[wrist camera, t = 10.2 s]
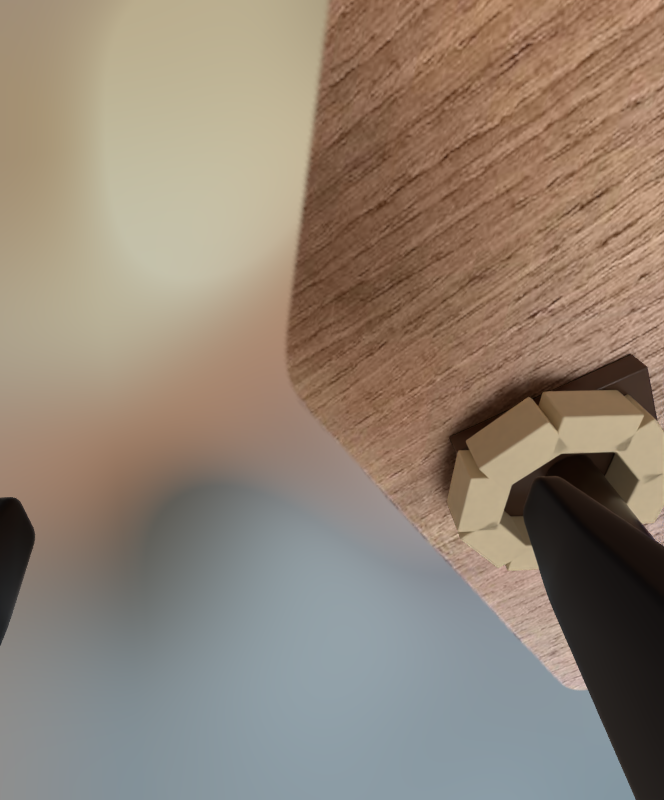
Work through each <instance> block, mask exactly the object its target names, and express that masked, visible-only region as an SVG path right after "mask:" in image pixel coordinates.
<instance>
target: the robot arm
mask: <svg viewBox="0 0 664 800" xmlns="http://www.w3.org/2000/svg"><path fill="white" fill-rule="evenodd" d="M523 519H524V523H525V526H526V529H527V532H528V535H529V539H530V542H531V545H532V548H533V551H534V555H535V558H536V561H537V564H538V567H539V570H540V574H541V577H542V580H543V583H544V586H545V589H546V592H547V595H548V598H549V600H550V603H551V605H552V608H553V610H554V613H555V615H556V617H557V620H558V622H559V624H560V626H561V629H562V631H563V633H564V636H565V638H566V640H567V643H568V645H569V647H570V649H571V652H572V654H573V656H574V659H575V661H576V663H577V665H578V668H579V670H580V672H581V675H582V677H583V679H584V682H585V684H586V686H587V688H588V691H589V693H590V695H591V698H592V700H593V702H594V704H595V707H596V709H597V711H598V714H599V716H600V718H601V721H602V723H603V725H604V727H605V730H606V732H607V734H608V737H609V739H610V741H611V744H612V746H613V748H614V750H615V753H616V755H617V757H618V760H619V762H620V764H621V767H622V769H623V771H624V773H625V776H626V778H627V780H628V783H629V785H630V787H631V789H632V792H633V794H634V796H635V799H636V800H664V546H663V545H661V544H660V543H658V542H657V541H655V540H654V539H652V538H651V537H649V536H648V535H646V534H645V533H643V532H642V531H640V530H639V529H637V528H636V527H634V526H633V525H631V524H630V523H628V522H627V521H625V520H624V519H622V518H621V517H619V516H618V515H616V514H615V513H613V512H612V511H610V510H609V509H607V508H606V507H604V506H603V505H601V504H600V503H598V502H597V501H595V500H594V499H592V498H591V497H589V496H588V495H587V494H585V493H584V492H582V491H581V490H579V489H578V488H576V487H575V486H573V485H572V484H570V483H569V482H567V481H566V480H564V479H563V478H561V477H558V476H542V477H536V478H535V479H534V480H533V482H532V485H531V487H530V490H529V493H528V496H527V499H526V502H525V505H524V508H523ZM34 541H35V532H34V529H33V526H32V524H31V522H30V520H29V518H28V516H27V514H26V512H25V510H24V508H23V506H22V504H21V502H20V501H19V500H18V499H16V498H13V497H5V498H0V645H1V643H2V640H3V638H4V635H5V632H6V630H7V628H8V625H9V622H10V619H11V616H12V613H13V610H14V606H15V603H16V600H17V597H18V594H19V590H20V587H21V584H22V581H23V578H24V574H25V571H26V568H27V565H28V562H29V558H30V555H31V552H32V549H33V545H34Z"/></svg>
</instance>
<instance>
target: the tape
mask: <svg viewBox="0 0 664 800" xmlns="http://www.w3.org/2000/svg"><path fill="white" fill-rule="evenodd" d="M466 444H467V446H468V448H469V450H459V451H458V453H457V458H456V462H455V467H454V471H453V476H452V480H451V485H450V489H449V494H448V498H447V504H448V507H449V510H450V512H451V515H452V518H453V520H454V523H455V526H456V528H457V531H458V534H459V536H460V539H461V540H462V541H463V542H465V543H466V544H467V545H468V546H470V547H471V548H472V549H474V550H475V551H476V552H478V553H479V554H480V555H481V556H483V557H484V558H485V559H487V560H488V561H489V562H490V563H492V564H493V565H494V566H496V567H497V568H500V567H502V566H504V565H505V566H506V568H507V570H508V571H518V570H538V569H539V567H538V564H537V561H536V558H535V555H534V551H533V548H532V545H531V542H530V539H529V535H528V532H527V529H526V526H525V523H524V519H523V516H510V515H509V514H508V513H506V512H505V511H504V508H505V505H506V502H507V499H508V496H509V493H510V489H511V486H512V485H513V484H514V483H516V482H517V481H519V480H521V479H522V478H524V477H525V476H527V475H528V474H530V473H532V472H533V471H535V470H536V469H538V468H539V467H541V466H543V465H544V464H546V463H547V462H549V461H550V460H552V459H554V458H555V457H557V456H558V455H560V454H568V453H599V452H614V453H615V455H614V457H613V459H612V462H611V464H610V466H609V468H608V470H607V472H606V474H605V478H606V479H607V480H608V482H609V483H610V484H611V485H612V487H613V488H614V489H615V490H616V492H617V493H618V494H619V495H620V497H621V498H622V499H623V500H624V502H625V503H626V504H627V505H628V507H629V508H630V509H631V510H632V512H633V513H634V514H635V515H636V517H637V518H638V519H639V520H640V522H641V523H642V524H647V523H654V522H655V520H656V519H657V517H658V515H659V514H660V512H661V510H662V508H663V507H664V431H663V429H662V428H661V426H660V425H659V423H658V422H657V420H656V419H655V418H654V417H653V416H652V415H651V414H649V413H648V412H647V411H646V410H645V409H644V408H643V407H642V406H641V405H640V404H639V403H638V402H636V401H635V400H634V399H633V398H632V397H631V396H630V395H628V394H627V395H625V396H623V395H622V394H621V393H620V392H619V391H618V390H592V391H547V392H543V393H542V396H541V399H540V402H539V405H537V404H536V403H535V402H534V401H533V400H532V398H530V397H527V398H526V399H525V400H523V401H522V402H520V403H519V404H517V405H516V406H515V407H513V408H512V409H510V410H509V411H507V412H506V413H505V414H503V415H502V416H500V417H499V418H497V419H496V420H495V421H493V422H492V423H490V424H489V425H487V426H486V427H485V428H483V429H482V430H480V431H479V432H477V433H476V434H475V435H473V436H472V437H470V438H469V439H467V440H466Z"/></svg>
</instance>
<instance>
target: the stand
mask: <svg viewBox="0 0 664 800" xmlns="http://www.w3.org/2000/svg"><path fill="white" fill-rule="evenodd" d="M592 390H618V391H619V392H620V393H621V394H622V395H623V396H625V395H627V394H628V395H630V396H631V397H632V398H633V399H634V400H635V401H636V402H638V403H639V404H640V405H641V406H642V407H643V408H644V409H645V410H646V411H647V412H648V413H649V414H651V415H652V416H653V417H654V418H655V419H656V420H657V416H656V411H655V406H654V400H653V395H652V389H651V384H650V379H649V373H648V368H647V366H646V365H644V364H643V363H642V362H641V361H639V360H638V359H637V358H636V357H634V356H633V355H629V356H627V357H625V358H622V359H620V360H618V361H616V362H614V363H611V364H609V365H607V366H605V367H603V368H600V369H598V370H596V371H594V372H592V373H589V374H587V375H585V376H583V377H581V378H578V379H576V380H574V381H572V382H570V383H567V384H565V385H563V386H561V387H559V388H556V389H554V390H552V391H592ZM541 396H542V395H541ZM541 396H539V397H537V398H534V399H532V400H533V401H534V402H535V403H536V404H537V405H539V402H540V399H541ZM508 411H509V410H508ZM506 412H507V411H506ZM506 412H504V413H501V414H499V415H497V416H495V417H492V418H490V419H488V420H486V421H484V422H481V423H479V424H477V425H475V426H473V427H470V428H468V429H466V430H464V431H462V432H459V433H457V434H455V435H453V436H451V437H450V440H451V442H452V445H453V447H454V449H455V451H456V453H458V451H459V450H469V448H468V446H467V444H466V440H467V439H469V438H470V437H472V436H473V435H475V434H476V433H477V432H479V431H480V430H482V429H483V428H485V427H486V426H487V425H489V424H490V423H492V422H493V421H495V420H496V419H497V418H499V417H500V416H502V415H503V414H505V413H506ZM614 455H615V453H614V452H599V453H568V454H560V455H558V456H557V457H555V458H554V459H552V460H550V461H549V462H547V463H546V464H544V465H543V466H541V467H539V468H538V469H536V470H535V471H533V472H532V473H530V474H528V475H527V476H525V477H524V478H522V479H521V480H519V481H517V482H516V483H514V484H513V485H512V486H511V489H510V493H509V496H508V499H507V502H506V505H505V508H504V511H505V512H506V513H508V514H509V515H510V516H523V508H524V505H525V502H526V499H527V496H528V493H529V490H530V487H531V485H532V482H533V480H534V479H535V478H536V477H542V476H558V477H561V478H563V479H564V480H566V481H567V482H569V483H570V484H572V485H573V486H575V487H576V488H578V489H579V490H581V491H582V492H584V493H585V494H587V495H588V496H589V497H591V498H592V499H594V500H595V501H597V502H598V503H600V504H601V505H603V506H604V507H606V508H607V509H609V510H610V511H612V512H613V513H615V514H616V515H618V516H619V517H621V518H622V519H624V520H625V521H627V522H628V523H630V524H631V525H633V526H634V527H636V528H637V529H639V530H640V531H642V532H643V533H645V534H646V535H648V536H649V537H651V538H652V539H654V538H653V537H652V535H651V534H650V533H649V532H648V530H647V529H646V528H645V527H644V525H643V524H642V523H641V522H640V520H639V519H638V518H637V517H636V515H635V514H634V513H633V512H632V510H631V509H630V508H629V507H628V505H627V504H626V503H625V502H624V500H623V499H622V498H621V497H620V495H619V494H618V493H617V492H616V490H615V489H614V488H613V487H612V485H611V484H610V483H609V482H608V480H607V479H606V478H605V474H606V472H607V470H608V468H609V466H610V464H611V462H612V459H613V457H614ZM654 540H655V539H654Z"/></svg>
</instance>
